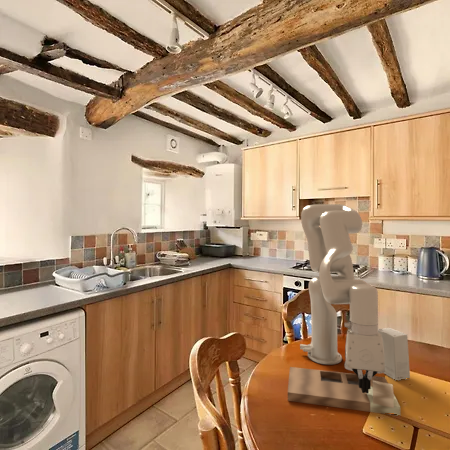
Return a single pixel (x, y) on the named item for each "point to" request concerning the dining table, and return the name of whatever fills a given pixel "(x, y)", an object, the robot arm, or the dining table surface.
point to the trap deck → (334, 390)
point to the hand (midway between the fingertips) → (364, 390)
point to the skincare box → (395, 353)
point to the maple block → (383, 394)
